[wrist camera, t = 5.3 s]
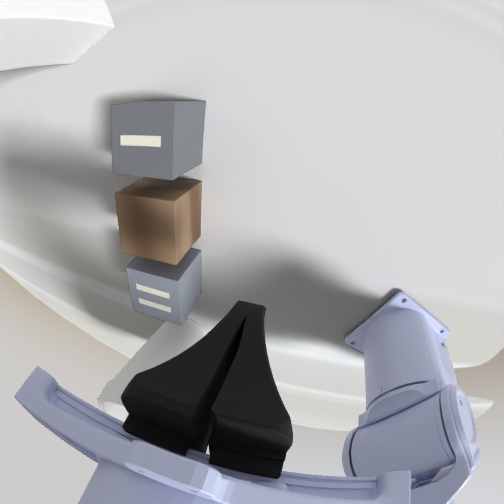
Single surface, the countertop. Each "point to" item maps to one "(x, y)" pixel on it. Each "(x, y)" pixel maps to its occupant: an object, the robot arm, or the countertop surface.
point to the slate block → (165, 286)
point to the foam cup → (149, 361)
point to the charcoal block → (157, 138)
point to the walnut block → (159, 218)
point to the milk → (50, 31)
